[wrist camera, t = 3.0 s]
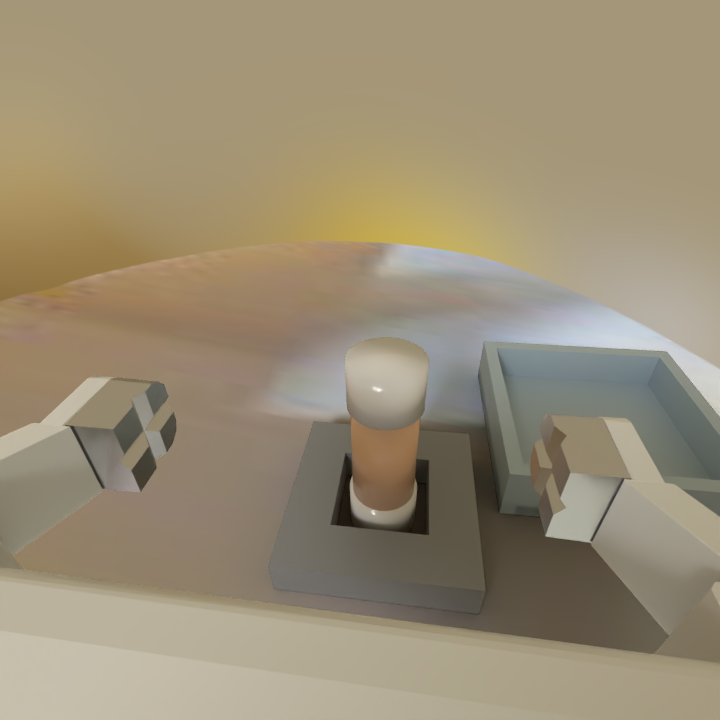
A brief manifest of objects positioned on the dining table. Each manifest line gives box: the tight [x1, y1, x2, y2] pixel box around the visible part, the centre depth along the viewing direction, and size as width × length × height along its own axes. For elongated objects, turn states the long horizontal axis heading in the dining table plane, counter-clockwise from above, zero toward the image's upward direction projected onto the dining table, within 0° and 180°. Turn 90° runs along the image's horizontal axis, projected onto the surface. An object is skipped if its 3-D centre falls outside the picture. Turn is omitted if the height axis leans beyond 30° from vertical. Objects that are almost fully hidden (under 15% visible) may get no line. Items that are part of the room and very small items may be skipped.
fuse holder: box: [268, 421, 486, 614], centre depth 30 cm, size 12×12×2 cm
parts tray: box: [478, 341, 720, 517], centre depth 35 cm, size 16×16×4 cm
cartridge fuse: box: [345, 337, 429, 533], centre depth 27 cm, size 4×4×13 cm
